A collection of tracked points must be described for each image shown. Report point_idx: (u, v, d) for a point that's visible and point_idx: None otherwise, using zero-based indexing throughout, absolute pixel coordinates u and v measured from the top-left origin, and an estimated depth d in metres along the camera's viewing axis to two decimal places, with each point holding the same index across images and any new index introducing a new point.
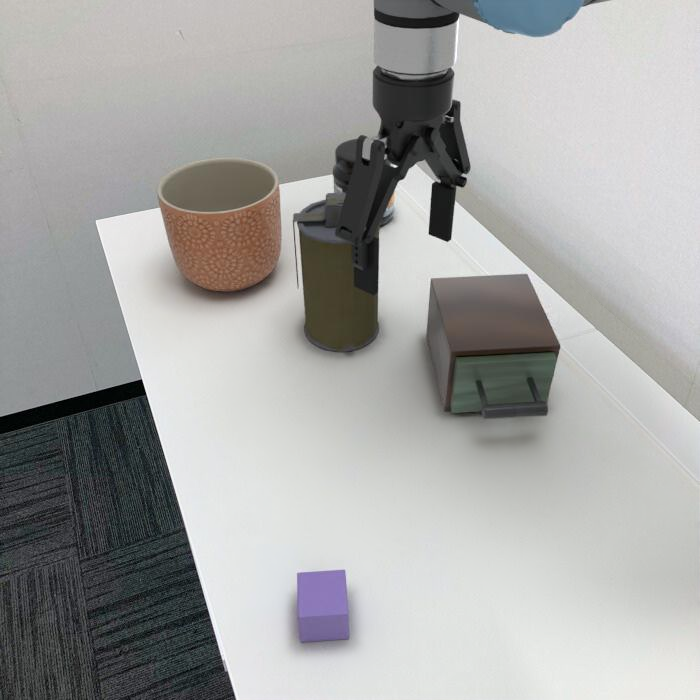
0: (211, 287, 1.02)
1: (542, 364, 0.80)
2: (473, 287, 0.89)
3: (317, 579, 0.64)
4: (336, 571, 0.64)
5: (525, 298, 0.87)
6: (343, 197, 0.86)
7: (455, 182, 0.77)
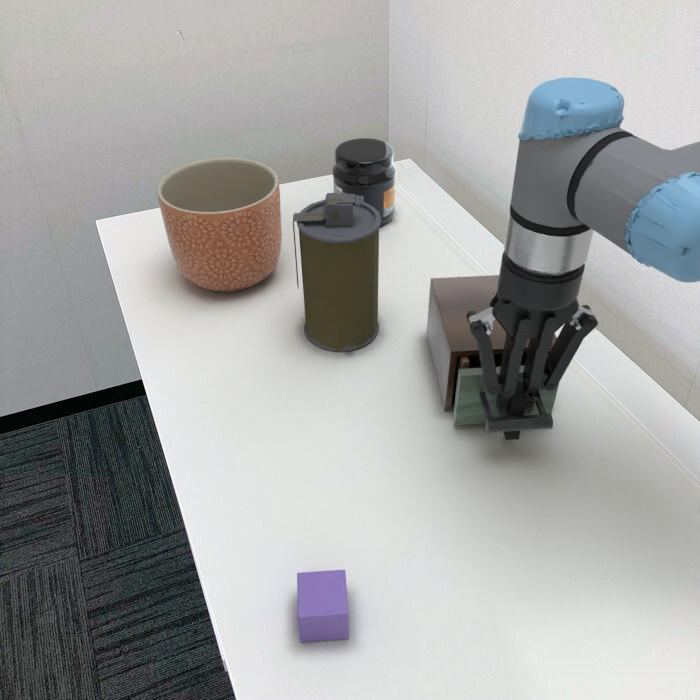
0: (211, 287, 1.02)
1: None
2: (473, 287, 0.89)
3: (317, 579, 0.64)
4: (336, 571, 0.64)
5: None
6: (343, 197, 0.86)
7: (529, 390, 0.75)
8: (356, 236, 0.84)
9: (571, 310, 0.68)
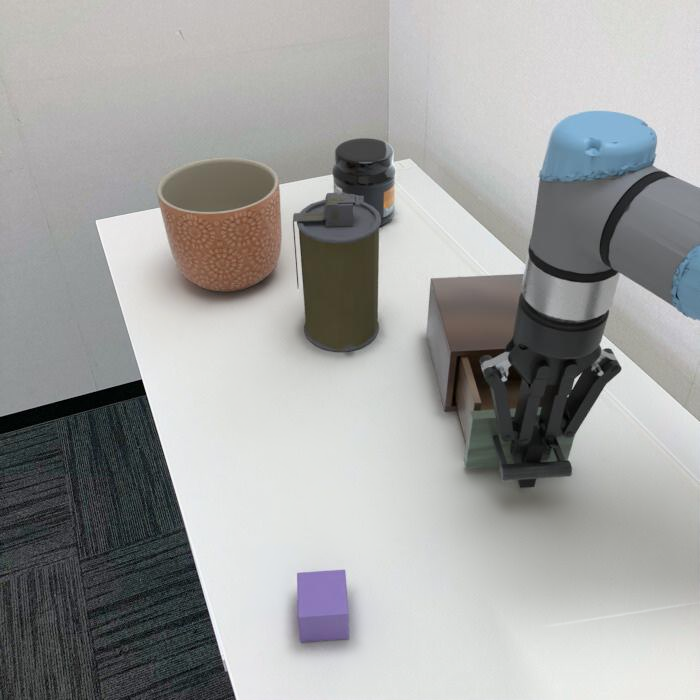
0: (211, 287, 1.02)
1: None
2: (473, 287, 0.89)
3: (317, 579, 0.64)
4: (336, 571, 0.64)
5: None
6: (343, 197, 0.86)
7: (546, 437, 0.70)
8: (356, 236, 0.84)
9: (593, 356, 0.63)
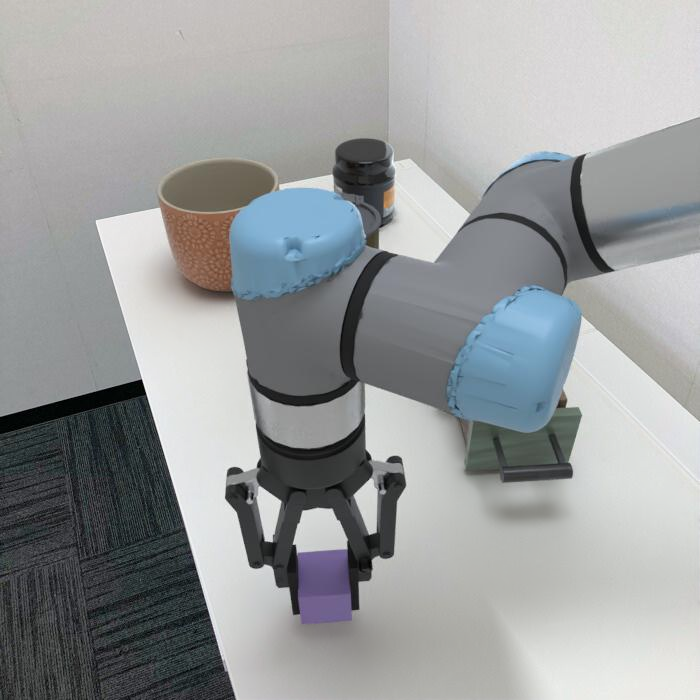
0: (211, 287, 1.02)
1: (565, 420, 0.73)
2: None
3: (318, 559, 0.61)
4: (338, 551, 0.62)
5: None
6: (343, 197, 0.86)
7: (358, 559, 0.57)
8: None
9: (361, 476, 0.51)
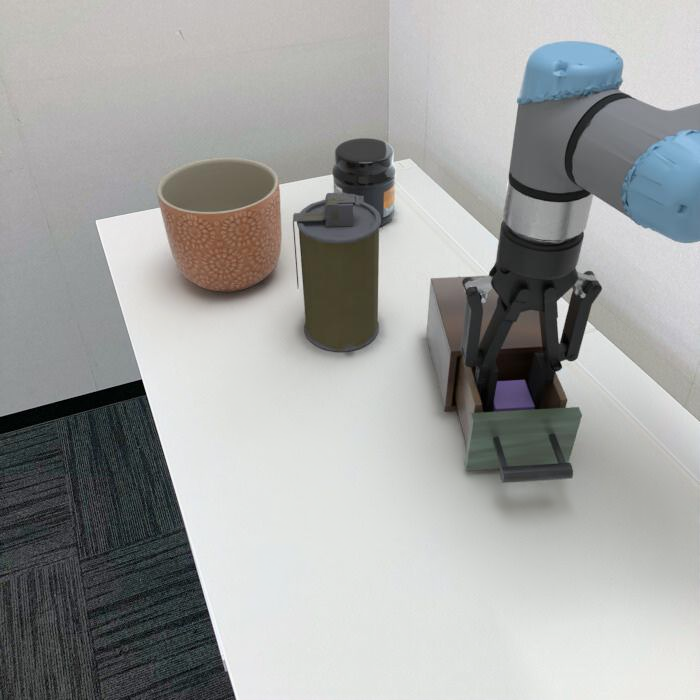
0: (211, 287, 1.02)
1: (565, 420, 0.73)
2: None
3: (504, 385, 0.80)
4: (518, 380, 0.80)
5: None
6: (343, 197, 0.86)
7: (550, 361, 0.74)
8: (356, 236, 0.84)
9: (570, 280, 0.68)
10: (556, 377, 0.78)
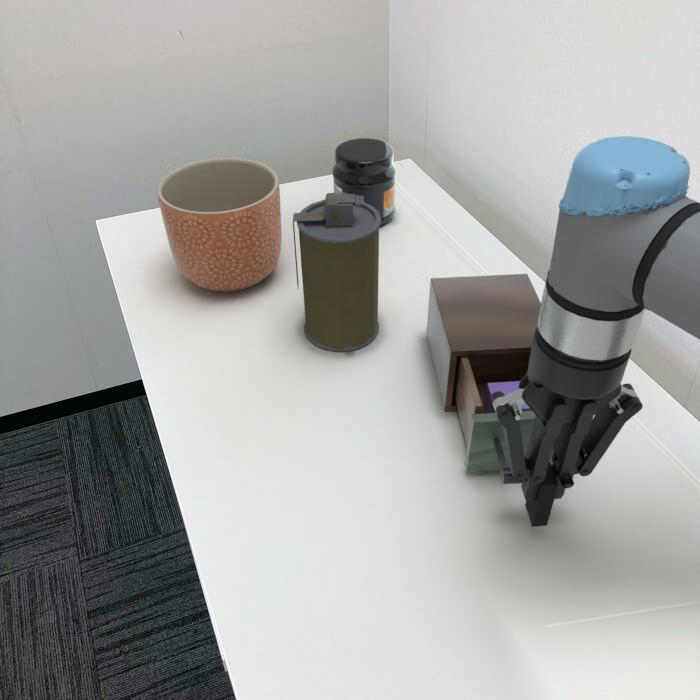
0: (211, 287, 1.02)
1: None
2: (473, 287, 0.89)
3: (504, 386, 0.80)
4: (518, 381, 0.80)
5: (525, 298, 0.87)
6: (343, 197, 0.86)
7: (561, 476, 0.66)
8: (356, 236, 0.84)
9: (613, 393, 0.59)
10: None
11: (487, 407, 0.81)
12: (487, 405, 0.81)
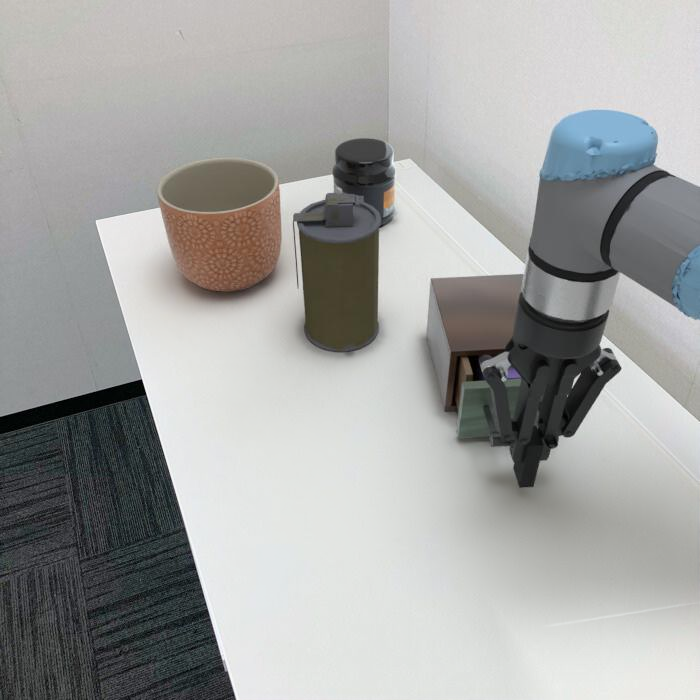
0: (211, 287, 1.02)
1: None
2: (473, 287, 0.89)
3: None
4: None
5: None
6: (343, 197, 0.86)
7: (546, 437, 0.69)
8: (356, 236, 0.84)
9: (593, 355, 0.63)
10: None
11: (478, 378, 0.84)
12: (478, 376, 0.84)
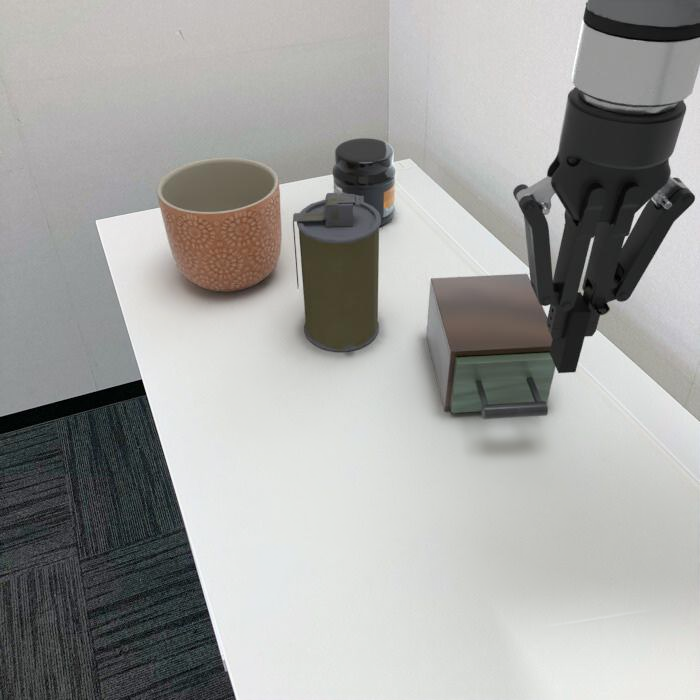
0: (211, 287, 1.02)
1: (542, 364, 0.80)
2: (473, 287, 0.89)
3: None
4: None
5: (525, 298, 0.87)
6: (343, 197, 0.86)
7: (594, 300, 0.56)
8: (356, 236, 0.84)
9: (660, 178, 0.49)
10: None
11: (471, 355, 0.88)
12: None
